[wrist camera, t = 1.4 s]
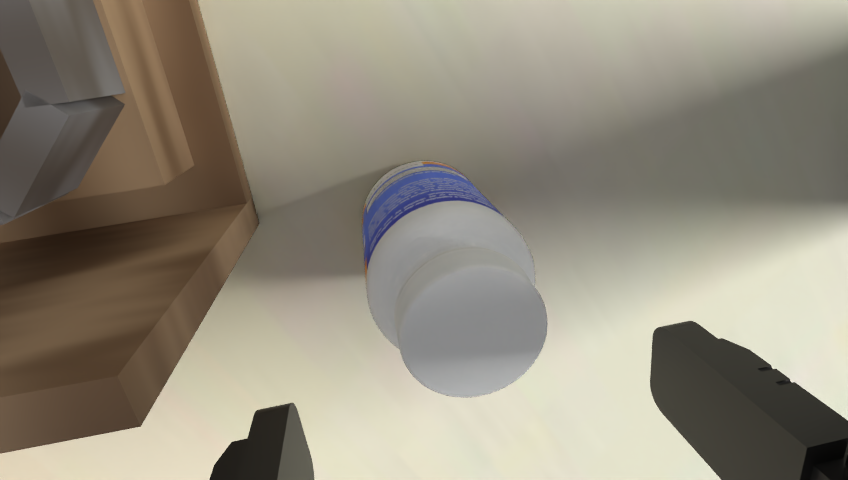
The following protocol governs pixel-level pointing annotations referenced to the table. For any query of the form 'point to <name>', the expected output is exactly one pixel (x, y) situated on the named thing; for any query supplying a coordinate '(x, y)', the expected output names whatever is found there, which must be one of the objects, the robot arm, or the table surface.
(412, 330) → the pill bottle
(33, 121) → the bracket
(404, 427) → the table surface
